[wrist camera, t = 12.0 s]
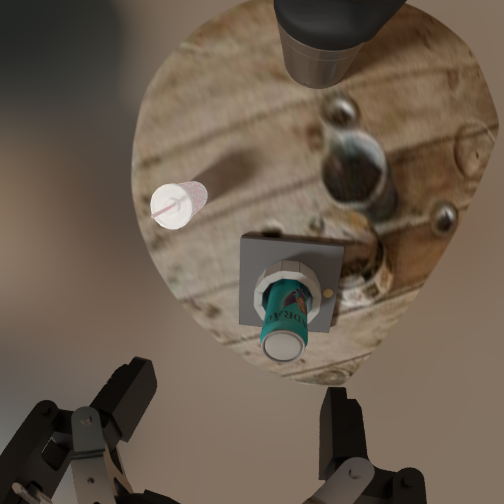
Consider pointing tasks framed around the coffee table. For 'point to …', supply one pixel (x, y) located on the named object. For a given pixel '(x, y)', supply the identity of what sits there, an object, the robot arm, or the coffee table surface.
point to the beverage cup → (177, 203)
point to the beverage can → (285, 322)
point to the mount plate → (289, 276)
